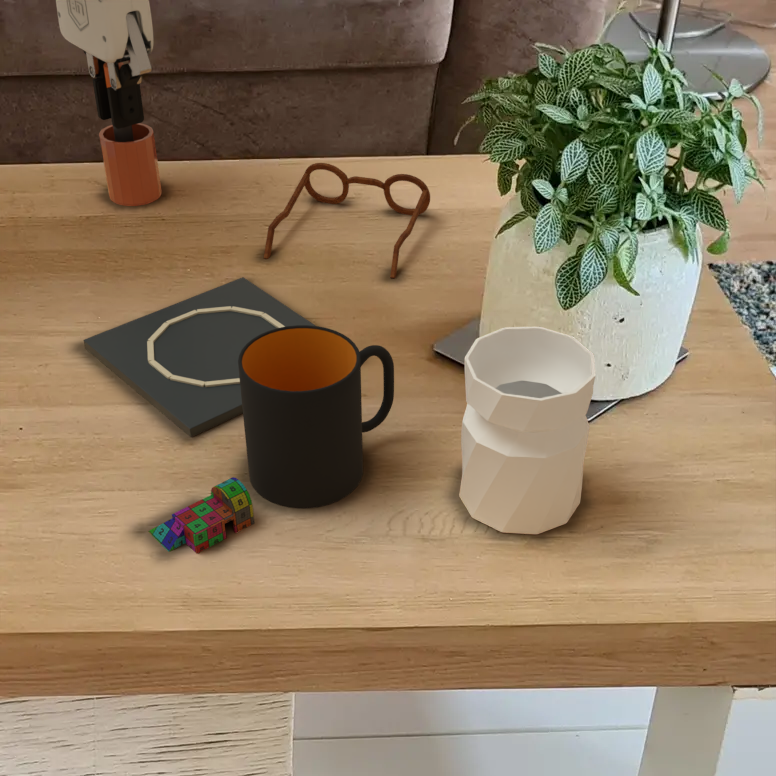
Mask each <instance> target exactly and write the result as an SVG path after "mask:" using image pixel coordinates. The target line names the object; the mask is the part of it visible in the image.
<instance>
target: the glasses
mask: <svg viewBox="0 0 776 776" xmlns="http://www.w3.org/2000/svg"><path fill="white" fill-rule="evenodd" d="M318 170H320V171H321V170H324V171H328V172H331V173H333V174H334V175H335V176H337V177H338V179H340V181H341V183H342V184H341V185H342V193H341V194H339V196H338V195H337V196H335V197H333V196H332V197H330V196H325V195H322V194H320V193H319V192H317V191H316V190H315V189H314V188H313V186H312V184H311V183H312V182H311V174H312V173H313V172H315V171H318ZM396 182H409V183H412V184H414V185H416V186H417V187H418V188H419V189H420V190H421V193H420V196H419V199H418V200H417V203H416V205H415V208H406V207H403V206H401V205H399V204H398V203H396V202H395V200H394V199H393V197H392V194H391V186H392V185H393V184H395V183H396ZM351 184H358V185H366V186H373V187H378V188H380V189H382V190H383V194H384V198H385V201H386V203H387V205H388V206H389V207H390V209H392V210H393V211H395V212H396V213H398V214H401V215H407V216H411V217H410V220H409V222H408V224H407V226H406V229H404V230H403V232H402V233H401V234H400V235H399V237H398V238H397V240H396V242H395V244H394V245H393V252H392V260H391V269H390V275H389V277H390V279H396V277H397V272H398V264H399V256H400V249H401V247H402V245H403V244H404V242H405V241H406V239H408V237H410V235H411V233H412V231H413V229H414V228H415V227H414V226H415V224H416V222H417V221H418V217H419V215H421V214H424V213H425V212H426V211H427V210H428V208H429V206H430V203H431V192H430V189H429V188H428V186H427V184H426V183H425V182H424V181H423V180H422V179H420V178H419V177H418V176H415V175H412V174H407V173H396V174H393V175H392V176H389V177H388V178H387V179H385V181H384V182H383V181H382V180H380V179H377V178H374V177H373V178H371V177H365V176H357V175H356V176H350V177H348V175H347V174H346V172H344V171H343V170H342V169H340V168H339V167H337V166H335V165H334V164H330V163H325V162H315V163H312V164H310V165H308V167H307V168H306V169H305V171H304V173H303V175H302V177H301V179H300V180H299V181H298V184H297V185H296V187H295V189H294V192H293V193H292V194H291V196H290V198H289V200H288V202H287V204H286V206H285V208H284V210H283V211H281V212H280V213H278V214H277V215H276V216H275V218H274V219H273V220H272V221H271V223H270V224H269V225H268V228H267V234H266V241H265V247H264V252H263V259H266V260H268V259H269V258H271V254H272V248H273V242H274V236H275V230H276V228H277V227H278V226H279V225H280V224H281V222H282V221H283V220H285V219H286V218H287V217H289V215H290V213H291V212H292V210H293V208H294V206H295V204H296V202H297V201H298V199H299V197H300V195H301V193H302V191H303V189H304V188H305V190H306V192H307V193H308V194H309V195H310V196H311V197H312V198H313V199H314V200H316V201H317V202H320V203H323V204H331V205H337V204H341V203H343V202H344V201H345V200H346V199H347V197H348V194H349V189H350V185H351Z"/></svg>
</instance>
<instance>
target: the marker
mask: <svg viewBox="0 0 776 776" xmlns="http://www.w3.org/2000/svg"><path fill="white" fill-rule="evenodd" d="M118 64H119V69H120V68H121V66H122V65H124V64H125V63H124V62H121V63H118ZM103 66H104V73H105V79H106V86H107V88H108V87H111V84H110V79H109V72H108V65H107V62H106V63H104V65H103ZM113 130H114V137H115V142H131V141H134V138H133V131H132V125H131V126H127V127H124V128H120V129H117V128H115V127H114V126H113Z"/></svg>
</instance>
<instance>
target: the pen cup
mask: <svg viewBox="0 0 776 776" xmlns="http://www.w3.org/2000/svg"><path fill="white" fill-rule="evenodd" d="M132 131H133V138H134V141H131V142H115V137H114V130H113V125H112V124H110V125H107V126H106V127H104V128H101V130H100V131H99V133H98V138H99V144H100V150H101V157H102V162H103V167H104V174H105V175H104V176H105V181H106V185H107V193H108V197H109V200H110V201H111V202H113V203H114V204H116V205H120V206H125V207H138V206H144V205H148V204H151V203H154V202H155V201H157V200H159V198H161V195H162V192H163V191H162V183H161V176H160V169H159V168H160V167H159V162H158V154H157V147H156V139H155V132H154V130H153V127H152V126H149V125H148V124H145V123H143V122H141V123H138V124H134V125H132Z"/></svg>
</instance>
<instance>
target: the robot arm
mask: <svg viewBox="0 0 776 776" xmlns="http://www.w3.org/2000/svg"><path fill="white" fill-rule="evenodd" d="M55 5H56V13H57V19H58V20H57V21H58V27H59V31H60V34H61V36H62V38H64V40H66V41H67V42H68V43H71V44H72V45H74V46H76V47H77V48H79V49H80V50H82V52H83V53H84V55H85V56H86V62H87V68H88V74H89V75H90V76H91V78H92V85H93V91H94V99H95V105H96V111H97V117H98V118H99V119H100V120H102V121H106V120H110V119H111V125H113V126H114V127H115V128H117V129H120V128H124V127H127V126H131V125H134V124H138V123H143V122H144V120H145V114H144V107H143V99H142V90H141V84H142V82H143V77H142V75H145V74H148V73H151V72H152V69H153V68H152V63H151V61H150V58H149V54H152V52H153V50H154V44H155V43H154V41H155V40H154V27H153V19H152V18H153V17H152V11H151V10H152V9H151V5H150V0H55ZM106 62H107V65H108V72H109V79H110V84H111V87H108V88H107V86H106V79H105V73H104V66H103V65H104V63H106ZM121 62H123V63H124V62H128V63H124V65H122V66H121V68H120V69H119V64H118V63H121Z"/></svg>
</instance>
